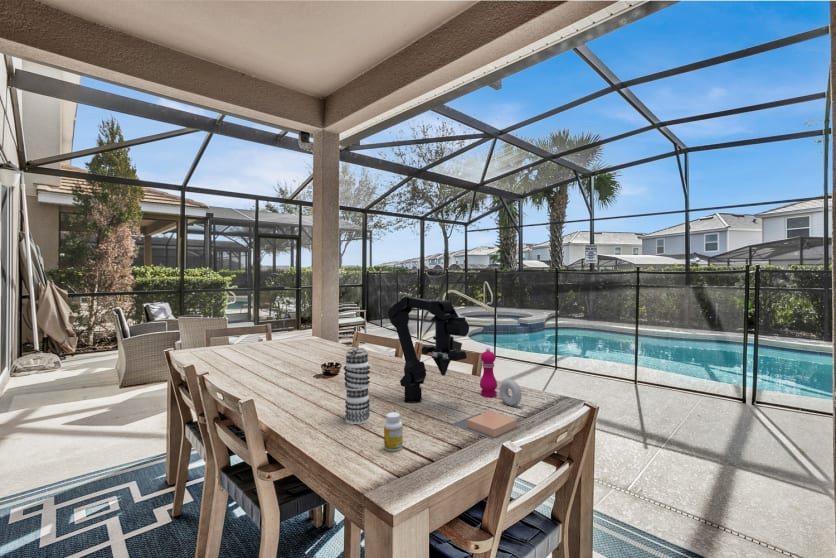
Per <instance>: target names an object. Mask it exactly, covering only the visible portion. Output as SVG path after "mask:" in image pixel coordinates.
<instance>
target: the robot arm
mask: <svg viewBox="0 0 836 558" xmlns="http://www.w3.org/2000/svg"><path fill="white" fill-rule="evenodd" d="M413 308H414V309H419V310H423V311H427V312H429V313H430V314H431V315H433V317H432V318H431V319H430V321H431V322H434V324H435V325H434V326H435V328H434V329H435V331H434V332H435V336H433V337H432V340H435V345H433V344H429V345H424V346H422V348H421V354H422V355H428V354H429V353H432V356H431V359H433V361H434V363H435V364H436V366H437V368H438V370H439V372H440V374H441V376H443V377H444V376H446V373H447V371H448V368H449V365H450V363H451V361H453V362H457V361H462V360H466V359H467V352H466V351H465V350H462V347H463V343H462V342H461V341H456V340H455V339H454V336H457V337H466V336H468V335H469V332H470V325H469V323H468V321H467V320H466V317H465V316H464V317H463V316H460V317H459V315H458V313H457V311H456V309H455V307H454V306H453V303H452V301H450V300H448V299H444V300H442V299H441V300H432V299H426V298H420V297H416V296H413V295H410V296H409V295H408V296H403V297H402V298H401V299H400V300H399V301H397V302H395V304H393V305H392V306H391V307H390V308H389V309H388V311H387V316H388V319H389V322H390V324H391V325H392V326H393V327H394V328H395V329H396V332H397V336H398V340H399V343H400V347H401V350H402V355H403V358H404V362H405V363H404V367H403V372H404V375H403V376H402V377H401V379H400V380H399V383H400V386H401V387H403V388H404V398H403V399H404V400H403V402H404V403H421V400H422V397H423V396H422V395H423V394H422V391H423V390H422V387H421V385H423V384H424V382H425V379H426V377H427V369H426V367H425V362H424V361H423V360H422V361H421V360H420V359H419V358H418V357H417V353H416V350H415V347H414V343H413V340H412V339H413V338H412V335H411V332H410V328H409V321H410V313H412V310H413Z"/></svg>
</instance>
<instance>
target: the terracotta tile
mask: <svg viewBox="0 0 836 558" xmlns="http://www.w3.org/2000/svg"><path fill="white" fill-rule="evenodd" d="M517 425H518V420H517V418H514V417H511V416H507V415H504V414H501V413H497V412H495V411H491V410H489V411H486V412H483V413H482V414H480V415H478V416H475V417H473V418H470V419H467V427H468V428H470V429H473V430H476V431H478V432H481V433H483V434H486V435H489V436H491V437H497V436H499V435H501V434H503V433H505V432H507V431H510V430H512V429H514V428H516V427H517ZM512 431H513V430H512ZM510 432H511V431H510ZM497 438H498V437H497Z"/></svg>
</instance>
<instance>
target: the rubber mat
mask: <svg viewBox="0 0 836 558" xmlns="http://www.w3.org/2000/svg"><path fill="white" fill-rule="evenodd" d="M480 414H483V413H481V412H479V413H477V414H474V415H471V416H469V417H466V418H463V419H462V420H459V421H456V422H453V423H452V425H454V426H456V427H458V428H461V429H463V430H466V431H468V432H471V433H474V434H477V435H478V436H482V437H484V438H486V439H489V440H492V441H493V440H495V439H497V438H500V437H502V436H503V435H506V434H508V433H510V432H512V431H514V430H516V429H518V428H521V425H518V424H517V427H516V428H514V429H512V430H510V431H507V432H505V433H503V434H501V435H499V436H497V437H491V436H489V435H486V434H483V433H481V432H478V431H476V430H473V429H470V428H468V427H467V419H470V418H473V417H475V416H478V415H480Z"/></svg>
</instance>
